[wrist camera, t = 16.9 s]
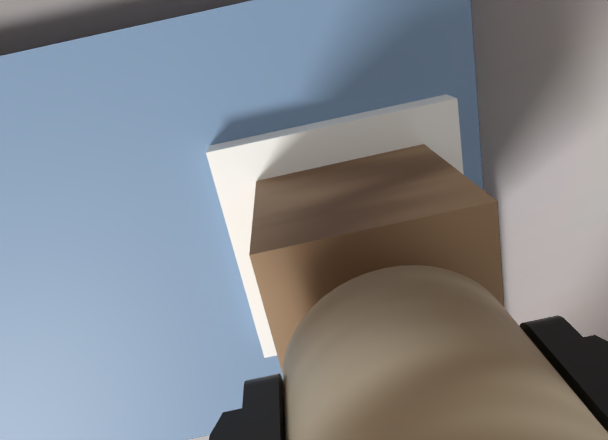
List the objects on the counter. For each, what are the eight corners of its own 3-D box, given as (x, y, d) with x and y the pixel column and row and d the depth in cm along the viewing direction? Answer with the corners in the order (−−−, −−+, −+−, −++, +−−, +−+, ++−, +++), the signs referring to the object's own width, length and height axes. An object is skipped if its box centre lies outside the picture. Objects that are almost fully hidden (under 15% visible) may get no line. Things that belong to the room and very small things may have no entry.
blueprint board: (453, -42, 16) (480, -52, 14) (484, 358, 22) (506, 392, 20) (-264, 116, 16) (-342, 129, 14) (-41, 466, 22) (-72, 511, 20)
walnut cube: (423, 143, 16) (497, 200, 11) (441, 290, 18) (510, 397, 13) (256, 180, 16) (248, 254, 11) (292, 322, 18) (301, 441, 13)
